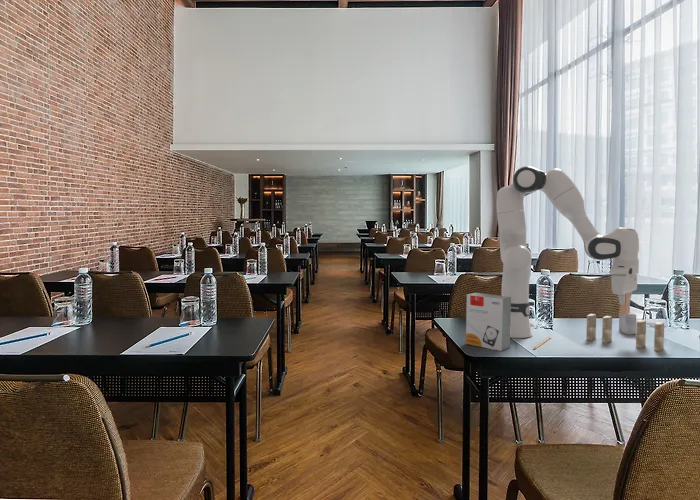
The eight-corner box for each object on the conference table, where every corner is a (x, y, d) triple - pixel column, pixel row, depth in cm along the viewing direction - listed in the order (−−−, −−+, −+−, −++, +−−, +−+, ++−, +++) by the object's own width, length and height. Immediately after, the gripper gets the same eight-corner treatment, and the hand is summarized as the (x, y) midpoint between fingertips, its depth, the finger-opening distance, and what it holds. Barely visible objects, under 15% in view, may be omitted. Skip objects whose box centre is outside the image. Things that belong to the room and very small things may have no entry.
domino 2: (602, 342, 189) (602, 317, 189) (606, 339, 193) (606, 315, 192) (607, 342, 188) (608, 318, 187) (611, 340, 191) (612, 316, 191)
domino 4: (635, 347, 181) (636, 321, 180) (639, 345, 184) (640, 319, 184) (641, 348, 179) (642, 322, 179) (645, 345, 183) (646, 320, 182)
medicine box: (636, 334, 202) (637, 314, 202) (625, 334, 203) (625, 314, 203) (629, 330, 210) (629, 311, 209) (618, 330, 211) (619, 311, 210)
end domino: (654, 350, 176) (654, 323, 176) (657, 347, 180) (658, 321, 179) (660, 351, 175) (661, 324, 175) (663, 348, 179) (664, 322, 178)
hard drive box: (464, 344, 186) (465, 294, 185) (474, 341, 191) (475, 292, 190) (501, 351, 175) (502, 298, 174) (510, 347, 180) (511, 296, 180)
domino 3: (620, 314, 184) (620, 289, 184) (624, 312, 188) (624, 287, 187) (625, 315, 183) (626, 289, 182) (629, 313, 186) (630, 288, 186)
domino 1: (586, 339, 194) (586, 315, 193) (590, 337, 197) (591, 313, 197) (591, 340, 192) (592, 316, 192) (595, 338, 196) (596, 314, 195)
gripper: (624, 266, 194) (624, 299, 195) (608, 270, 180) (607, 305, 180) (641, 267, 190) (641, 301, 190) (626, 270, 175) (626, 307, 176)
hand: (624, 303), depth 185 cm, fingers closed on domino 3, 5 cm apart
